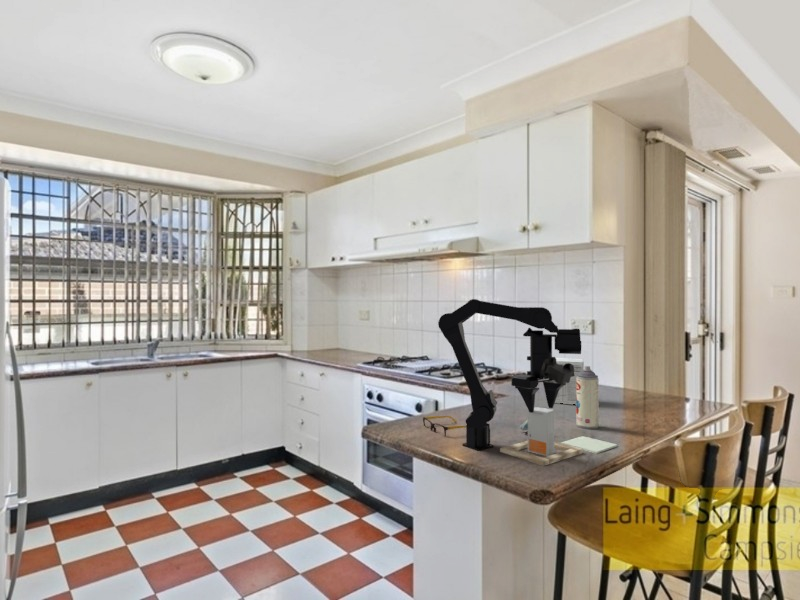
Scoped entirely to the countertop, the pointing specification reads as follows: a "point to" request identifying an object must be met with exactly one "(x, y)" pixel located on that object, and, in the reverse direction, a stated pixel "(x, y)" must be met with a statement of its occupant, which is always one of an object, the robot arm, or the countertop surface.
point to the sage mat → (590, 444)
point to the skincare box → (541, 431)
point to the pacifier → (524, 425)
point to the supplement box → (569, 390)
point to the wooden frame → (566, 453)
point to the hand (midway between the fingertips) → (541, 410)
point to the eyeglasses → (441, 425)
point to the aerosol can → (587, 399)
